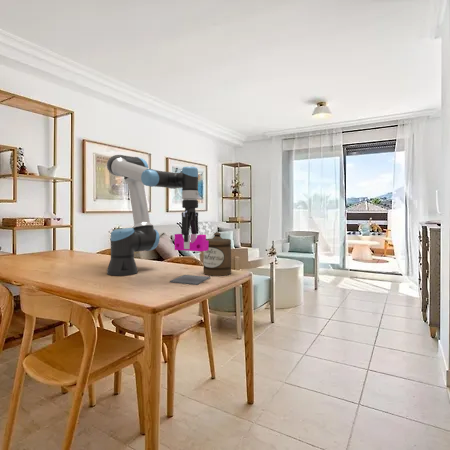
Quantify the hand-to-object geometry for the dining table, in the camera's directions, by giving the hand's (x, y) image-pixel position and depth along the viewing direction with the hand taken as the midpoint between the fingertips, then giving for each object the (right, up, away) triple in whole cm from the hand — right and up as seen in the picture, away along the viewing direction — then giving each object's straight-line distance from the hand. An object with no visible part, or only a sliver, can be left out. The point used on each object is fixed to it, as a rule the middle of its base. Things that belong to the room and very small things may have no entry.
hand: (190, 248), depth 156 cm
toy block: (+1, -1, 0) cm, 1 cm away
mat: (0, -15, +1) cm, 15 cm away
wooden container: (+12, -15, +19) cm, 27 cm away
